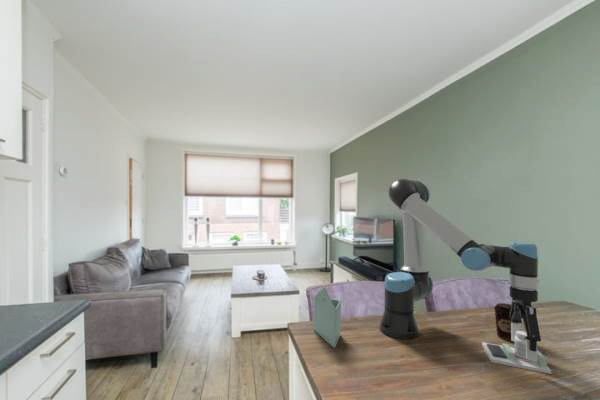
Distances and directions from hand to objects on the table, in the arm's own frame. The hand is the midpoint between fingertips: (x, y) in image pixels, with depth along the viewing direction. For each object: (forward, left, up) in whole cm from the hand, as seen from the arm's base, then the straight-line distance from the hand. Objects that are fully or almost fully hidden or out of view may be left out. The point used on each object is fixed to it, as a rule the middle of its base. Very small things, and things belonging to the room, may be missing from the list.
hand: (523, 350), depth 93 cm
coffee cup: (0, +19, -4) cm, 19 cm away
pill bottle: (0, 0, -3) cm, 3 cm away
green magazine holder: (-65, -11, -4) cm, 66 cm away
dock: (-2, +1, -4) cm, 5 cm away
